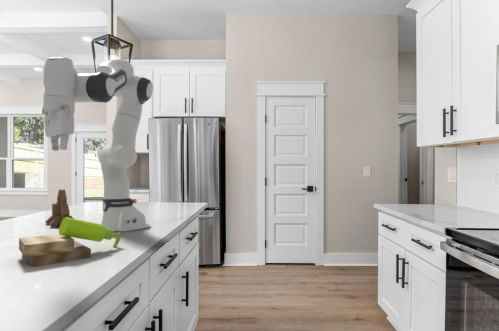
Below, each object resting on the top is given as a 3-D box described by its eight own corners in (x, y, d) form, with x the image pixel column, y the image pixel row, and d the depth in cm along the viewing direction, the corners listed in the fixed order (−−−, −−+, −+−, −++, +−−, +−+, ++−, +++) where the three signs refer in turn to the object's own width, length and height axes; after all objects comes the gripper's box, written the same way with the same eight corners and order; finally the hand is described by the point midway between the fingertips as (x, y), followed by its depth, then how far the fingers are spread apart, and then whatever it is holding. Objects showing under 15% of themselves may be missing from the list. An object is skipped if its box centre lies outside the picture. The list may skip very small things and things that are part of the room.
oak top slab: (64, 243, 117) (64, 233, 117) (74, 250, 107) (74, 239, 107) (19, 249, 109) (19, 238, 109) (24, 257, 99) (24, 245, 99)
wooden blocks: (81, 228, 162) (82, 190, 162) (52, 231, 154) (52, 191, 154) (69, 221, 181) (69, 187, 181) (42, 223, 173) (42, 188, 173)
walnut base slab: (75, 250, 121) (75, 240, 121) (90, 259, 109) (90, 248, 109) (22, 258, 110) (22, 247, 110) (32, 269, 98) (32, 257, 98)
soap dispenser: (62, 239, 107) (119, 249, 121) (69, 218, 109) (125, 230, 123) (55, 236, 111) (112, 246, 125) (63, 215, 113) (118, 227, 127)
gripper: (80, 104, 105) (79, 149, 105) (61, 111, 120) (61, 151, 120) (57, 101, 100) (56, 148, 100) (40, 109, 115) (40, 150, 115)
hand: (59, 150), depth 110 cm, fingers open, 8 cm apart
